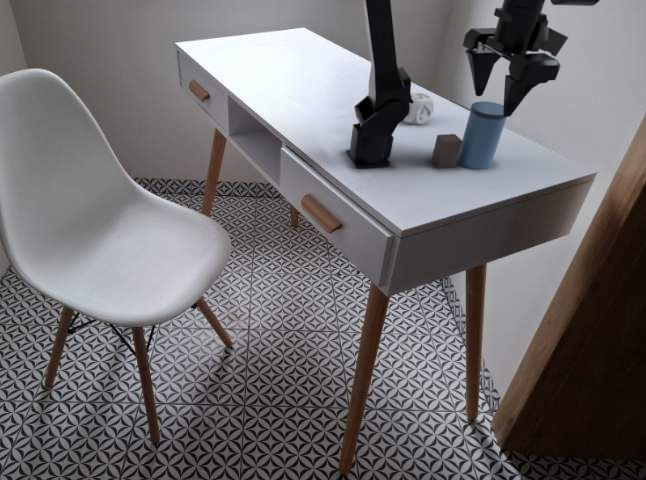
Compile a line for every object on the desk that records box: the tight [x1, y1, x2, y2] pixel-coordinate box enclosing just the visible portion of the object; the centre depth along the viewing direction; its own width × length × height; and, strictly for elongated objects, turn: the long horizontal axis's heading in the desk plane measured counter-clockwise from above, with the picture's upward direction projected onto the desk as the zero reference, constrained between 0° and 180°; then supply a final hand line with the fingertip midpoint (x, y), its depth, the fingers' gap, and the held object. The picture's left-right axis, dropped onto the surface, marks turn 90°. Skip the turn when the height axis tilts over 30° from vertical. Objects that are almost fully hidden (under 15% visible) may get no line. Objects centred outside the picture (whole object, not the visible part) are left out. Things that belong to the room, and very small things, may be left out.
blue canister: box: [457, 100, 508, 170], centre depth 91 cm, size 11×6×11 cm
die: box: [402, 91, 435, 126], centre depth 107 cm, size 5×5×5 cm
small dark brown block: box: [431, 133, 463, 169], centre depth 91 cm, size 3×3×5 cm
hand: (492, 105), depth 88 cm, fingers open, 9 cm apart
